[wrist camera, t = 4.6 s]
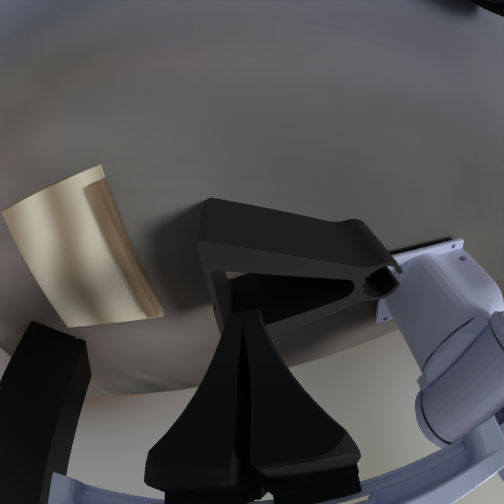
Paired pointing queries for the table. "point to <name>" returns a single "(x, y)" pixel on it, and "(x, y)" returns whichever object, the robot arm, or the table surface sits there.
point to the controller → (491, 5)
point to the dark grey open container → (289, 265)
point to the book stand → (82, 252)
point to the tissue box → (40, 412)
